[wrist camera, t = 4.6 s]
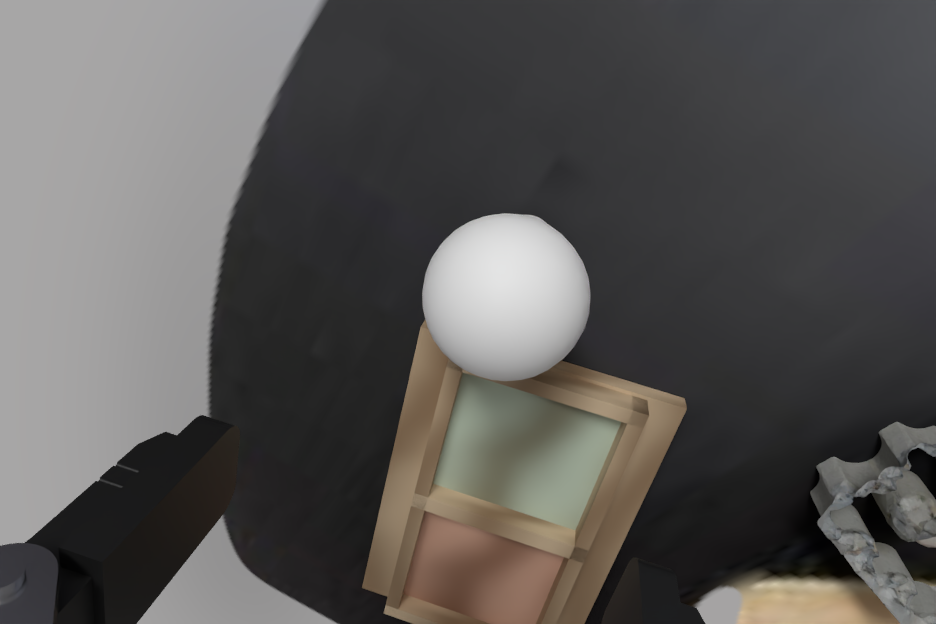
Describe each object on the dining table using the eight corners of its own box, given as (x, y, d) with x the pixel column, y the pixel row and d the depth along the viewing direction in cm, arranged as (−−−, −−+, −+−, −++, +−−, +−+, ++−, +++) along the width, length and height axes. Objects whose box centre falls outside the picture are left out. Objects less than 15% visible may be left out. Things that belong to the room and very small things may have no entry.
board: (684, 398, 31) (690, 424, 29) (568, 645, 40) (566, 679, 38) (425, 319, 33) (413, 338, 30) (367, 575, 41) (354, 605, 39)
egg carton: (1043, 543, 31) (1103, 611, 27) (895, 598, 34) (930, 666, 30) (931, 397, 29) (979, 448, 26) (785, 469, 32) (809, 525, 29)
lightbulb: (533, 317, 31) (502, 444, 21) (442, 239, 31) (366, 333, 21) (620, 231, 29) (630, 332, 19) (523, 144, 28) (480, 200, 18)
